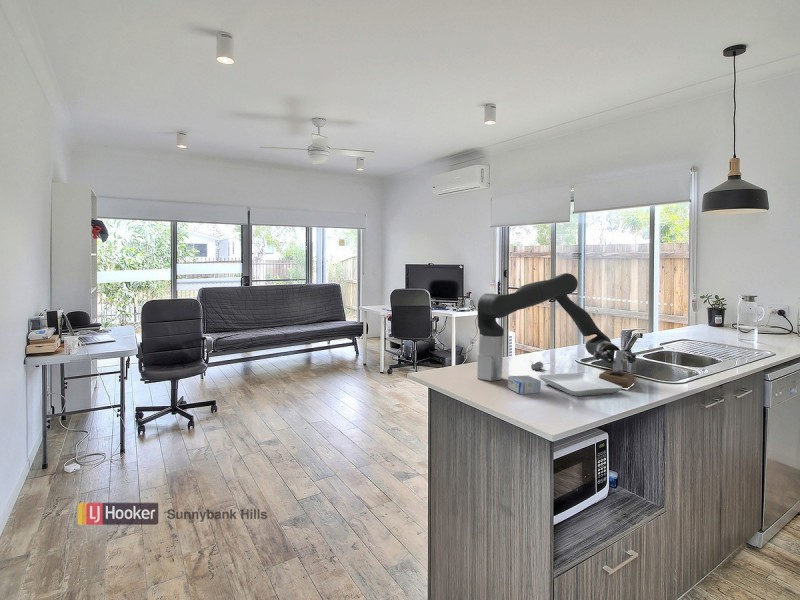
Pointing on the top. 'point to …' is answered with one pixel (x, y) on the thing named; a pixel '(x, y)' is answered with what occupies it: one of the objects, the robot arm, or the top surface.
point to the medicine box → (524, 384)
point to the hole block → (618, 378)
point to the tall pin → (617, 363)
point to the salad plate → (580, 383)
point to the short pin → (537, 366)
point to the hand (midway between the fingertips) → (619, 360)
